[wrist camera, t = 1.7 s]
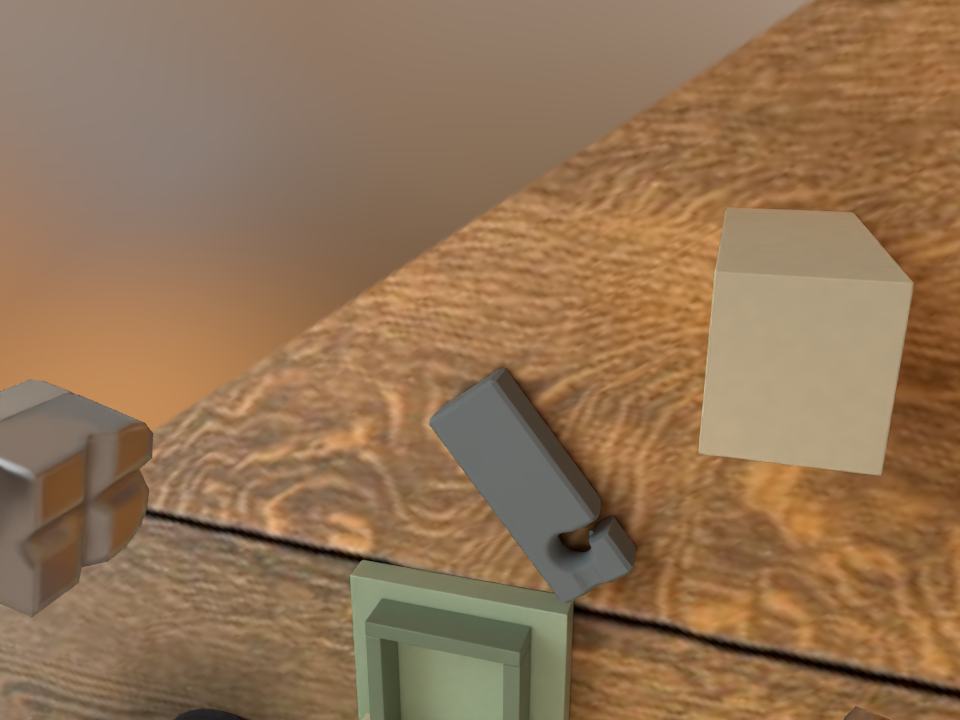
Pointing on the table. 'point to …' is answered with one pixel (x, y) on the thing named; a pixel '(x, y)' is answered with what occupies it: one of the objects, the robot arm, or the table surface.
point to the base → (457, 647)
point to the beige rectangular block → (803, 341)
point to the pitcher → (206, 715)
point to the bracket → (532, 485)
